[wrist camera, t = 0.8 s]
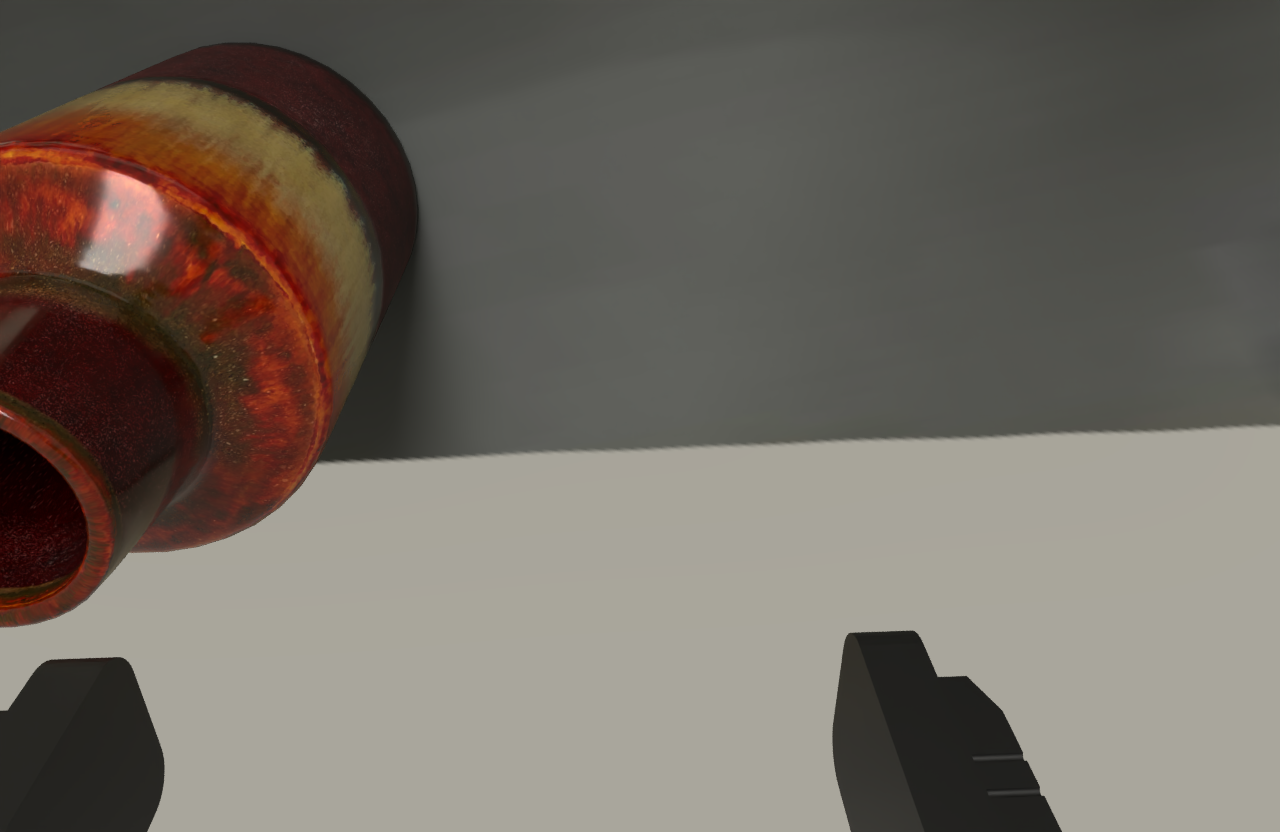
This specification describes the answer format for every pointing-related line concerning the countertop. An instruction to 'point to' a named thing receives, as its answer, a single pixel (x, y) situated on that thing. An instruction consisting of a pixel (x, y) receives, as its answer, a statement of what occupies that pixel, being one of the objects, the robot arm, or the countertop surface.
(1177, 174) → the countertop surface
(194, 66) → the vase
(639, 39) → the countertop surface
